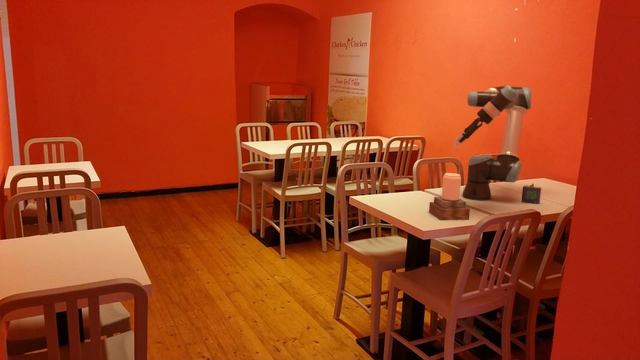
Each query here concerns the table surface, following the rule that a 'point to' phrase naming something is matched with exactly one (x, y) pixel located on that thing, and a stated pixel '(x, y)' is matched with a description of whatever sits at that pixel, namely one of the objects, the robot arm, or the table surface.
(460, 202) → the stepped brown pedestal
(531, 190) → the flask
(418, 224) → the table surface
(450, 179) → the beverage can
